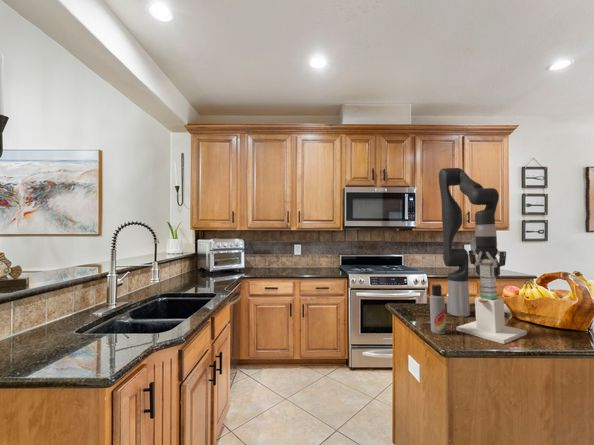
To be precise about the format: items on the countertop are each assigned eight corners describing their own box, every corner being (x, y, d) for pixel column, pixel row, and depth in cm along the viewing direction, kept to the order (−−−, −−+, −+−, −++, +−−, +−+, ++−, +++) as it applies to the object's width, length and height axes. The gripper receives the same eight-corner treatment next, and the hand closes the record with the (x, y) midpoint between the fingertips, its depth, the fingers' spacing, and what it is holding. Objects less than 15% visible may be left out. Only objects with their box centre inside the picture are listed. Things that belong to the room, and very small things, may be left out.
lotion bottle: (448, 334, 117) (445, 285, 118) (433, 334, 118) (431, 285, 119) (443, 330, 123) (441, 283, 123) (429, 329, 124) (427, 283, 125)
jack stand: (456, 330, 122) (455, 297, 122) (479, 322, 131) (478, 292, 131) (504, 344, 106) (502, 306, 107) (526, 334, 115) (524, 299, 116)
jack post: (480, 310, 120) (478, 262, 120) (486, 308, 122) (484, 261, 123) (492, 313, 116) (490, 263, 116) (498, 311, 118) (496, 262, 119)
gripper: (509, 235, 116) (511, 276, 115) (473, 235, 128) (474, 272, 127) (500, 235, 112) (502, 278, 111) (463, 235, 124) (465, 274, 124)
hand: (487, 275), depth 119 cm, fingers open, 6 cm apart
